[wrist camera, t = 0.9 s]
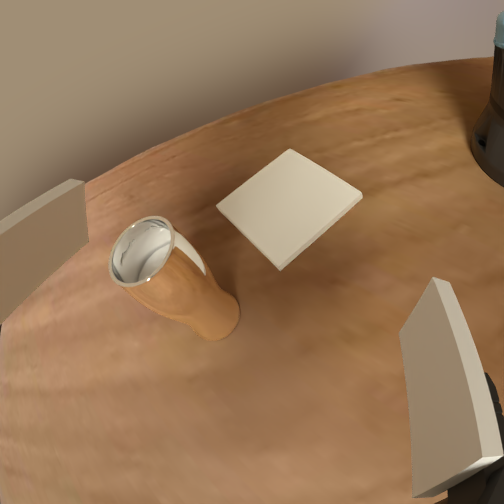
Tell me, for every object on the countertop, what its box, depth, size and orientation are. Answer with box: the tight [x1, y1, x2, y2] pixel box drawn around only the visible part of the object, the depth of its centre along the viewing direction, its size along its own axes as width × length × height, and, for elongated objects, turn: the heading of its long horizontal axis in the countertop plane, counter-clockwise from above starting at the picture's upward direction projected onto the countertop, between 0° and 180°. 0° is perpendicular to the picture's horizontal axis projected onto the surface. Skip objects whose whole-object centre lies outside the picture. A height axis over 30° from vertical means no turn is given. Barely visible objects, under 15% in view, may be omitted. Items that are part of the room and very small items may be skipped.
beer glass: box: [108, 216, 240, 341], centre depth 30 cm, size 7×7×15 cm
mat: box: [216, 149, 362, 271], centre depth 41 cm, size 14×14×1 cm
